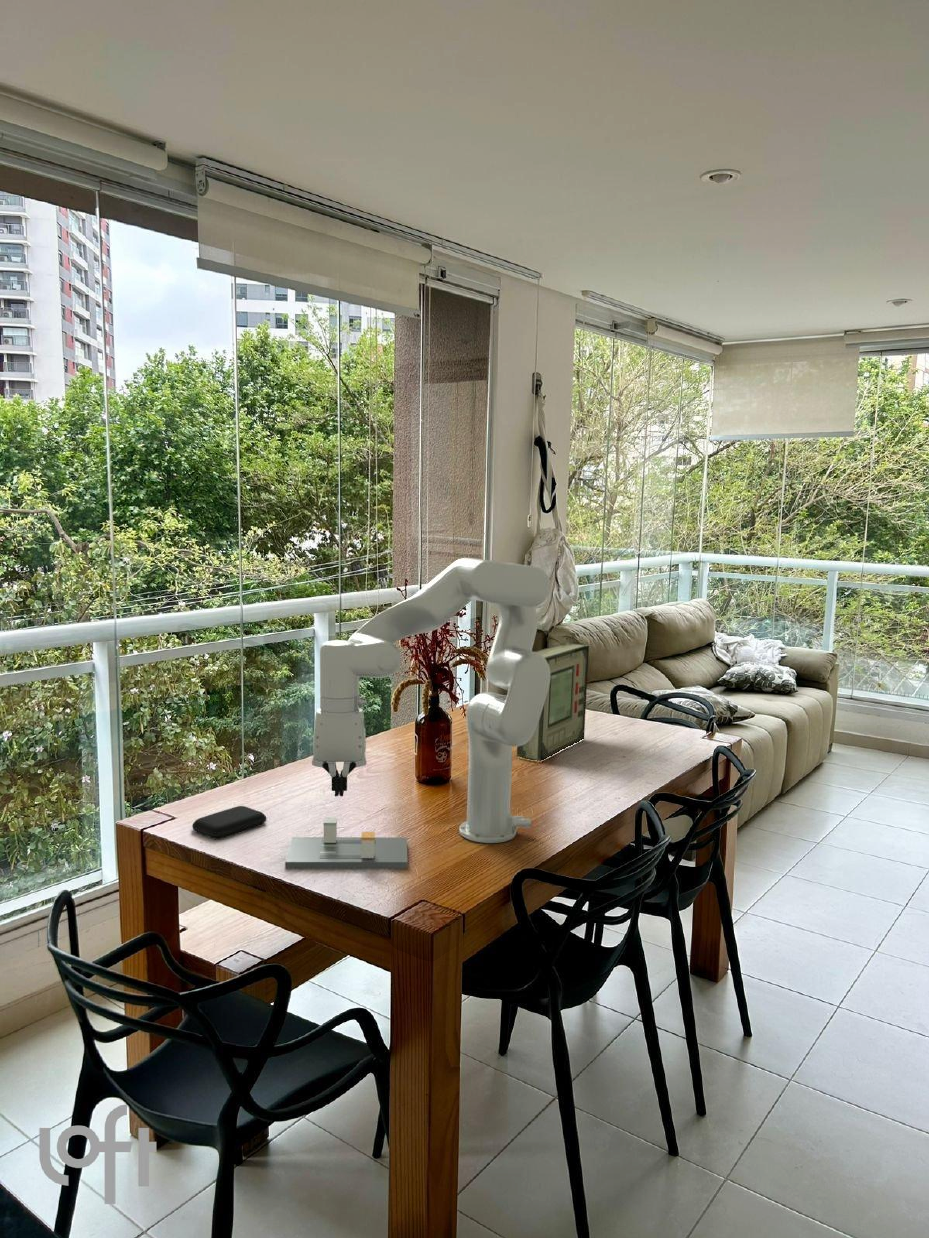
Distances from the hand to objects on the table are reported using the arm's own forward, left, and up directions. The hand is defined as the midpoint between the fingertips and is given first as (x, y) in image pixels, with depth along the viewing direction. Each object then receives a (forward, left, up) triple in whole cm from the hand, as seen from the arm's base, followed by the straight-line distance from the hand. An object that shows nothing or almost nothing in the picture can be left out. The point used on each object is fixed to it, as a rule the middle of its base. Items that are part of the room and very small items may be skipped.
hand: (339, 793), depth 179 cm
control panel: (-58, -85, -15) cm, 104 cm away
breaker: (+2, -8, -13) cm, 15 cm away
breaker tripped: (-6, 0, -13) cm, 14 cm away
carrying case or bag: (+25, -20, -15) cm, 36 cm away
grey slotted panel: (-2, -4, -15) cm, 15 cm away
